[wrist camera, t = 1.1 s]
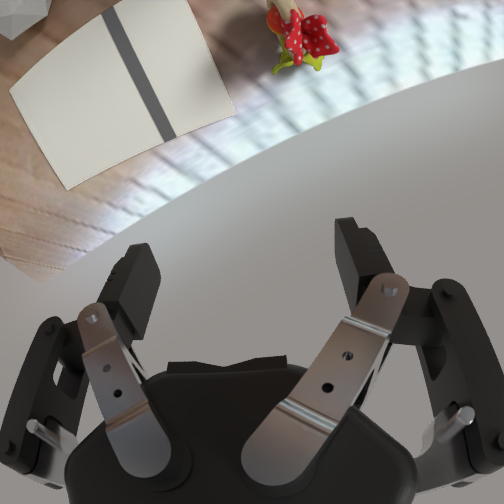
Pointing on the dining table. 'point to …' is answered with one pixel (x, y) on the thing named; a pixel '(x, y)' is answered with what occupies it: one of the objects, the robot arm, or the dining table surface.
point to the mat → (121, 88)
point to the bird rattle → (299, 35)
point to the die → (21, 15)
